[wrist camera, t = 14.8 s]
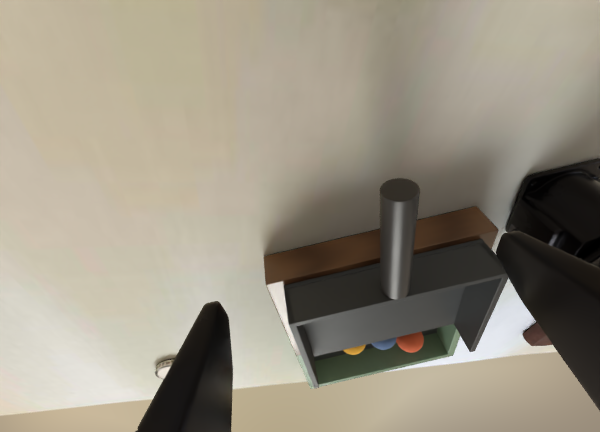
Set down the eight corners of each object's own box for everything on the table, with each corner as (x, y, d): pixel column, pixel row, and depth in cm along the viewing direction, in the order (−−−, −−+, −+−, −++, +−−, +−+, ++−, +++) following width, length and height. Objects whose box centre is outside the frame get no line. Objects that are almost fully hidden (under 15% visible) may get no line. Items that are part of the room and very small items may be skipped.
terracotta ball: (418, 316, 36) (421, 338, 34) (425, 334, 38) (428, 357, 35) (391, 320, 38) (392, 341, 35) (399, 337, 39) (400, 359, 36)
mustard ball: (359, 315, 35) (367, 334, 32) (364, 336, 36) (371, 357, 33) (333, 321, 35) (338, 341, 32) (338, 342, 36) (343, 364, 33)
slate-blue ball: (401, 336, 32) (401, 351, 34) (390, 311, 35) (390, 327, 37) (372, 343, 32) (373, 358, 34) (363, 317, 35) (365, 333, 37)
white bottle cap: (179, 377, 37) (178, 383, 37) (149, 370, 35) (147, 376, 35) (199, 364, 36) (199, 370, 35) (169, 356, 34) (168, 362, 33)
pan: (456, 319, 32) (475, 352, 29) (308, 354, 32) (314, 389, 29) (515, 133, 18) (563, 163, 15) (250, 196, 18) (252, 237, 15)
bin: (452, 292, 34) (467, 316, 32) (441, 333, 41) (453, 355, 38) (292, 329, 34) (296, 356, 32) (306, 365, 41) (310, 389, 38)
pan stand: (476, 205, 26) (499, 229, 23) (452, 292, 34) (467, 316, 32) (263, 256, 26) (265, 284, 23) (292, 329, 34) (296, 356, 32)
